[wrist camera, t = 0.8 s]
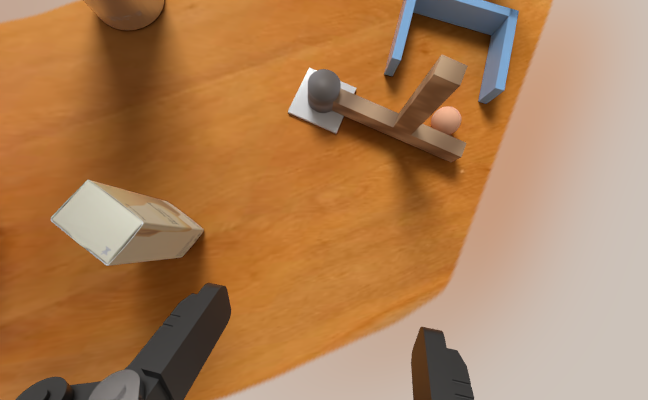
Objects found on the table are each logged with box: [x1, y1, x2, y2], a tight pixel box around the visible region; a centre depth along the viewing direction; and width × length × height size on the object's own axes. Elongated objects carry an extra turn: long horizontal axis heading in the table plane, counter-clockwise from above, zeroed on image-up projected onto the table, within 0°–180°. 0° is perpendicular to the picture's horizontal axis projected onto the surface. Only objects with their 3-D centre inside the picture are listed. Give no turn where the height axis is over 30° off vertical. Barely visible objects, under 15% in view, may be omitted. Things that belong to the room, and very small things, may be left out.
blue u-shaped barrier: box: [384, 0, 519, 104], centre depth 37 cm, size 12×15×4 cm
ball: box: [431, 107, 461, 135], centre depth 36 cm, size 4×4×4 cm
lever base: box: [288, 68, 356, 134], centre depth 37 cm, size 7×7×1 cm
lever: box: [308, 55, 467, 162], centre depth 30 cm, size 21×4×13 cm, turn 67°
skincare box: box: [51, 180, 204, 266], centre depth 27 cm, size 6×4×12 cm
